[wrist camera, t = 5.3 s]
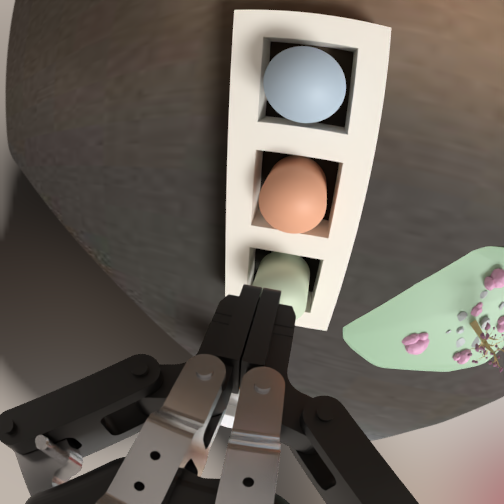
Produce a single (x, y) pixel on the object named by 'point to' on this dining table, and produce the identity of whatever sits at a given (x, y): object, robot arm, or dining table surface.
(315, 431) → the robot arm
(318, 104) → the light blue rounded dome
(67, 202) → the dining table surface
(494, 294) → the plant
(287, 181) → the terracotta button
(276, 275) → the pale green rounded dome
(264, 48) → the button board
